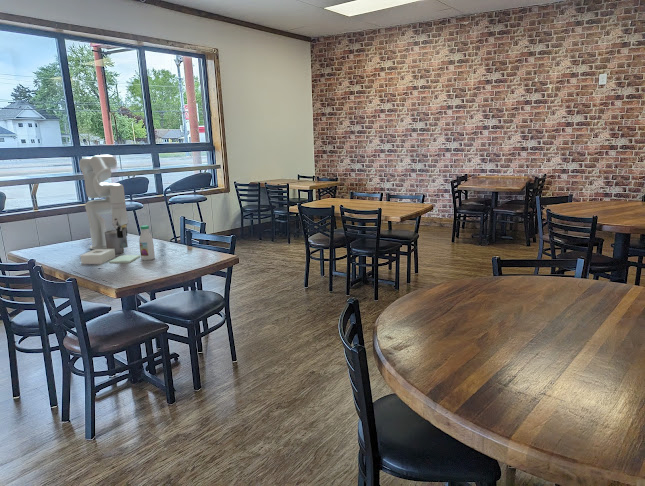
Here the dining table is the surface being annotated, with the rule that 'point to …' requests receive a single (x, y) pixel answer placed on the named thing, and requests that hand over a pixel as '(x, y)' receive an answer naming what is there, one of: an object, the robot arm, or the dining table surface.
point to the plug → (123, 240)
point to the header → (97, 256)
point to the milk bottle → (146, 244)
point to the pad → (125, 259)
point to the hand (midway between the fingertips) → (122, 236)
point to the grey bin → (113, 241)
